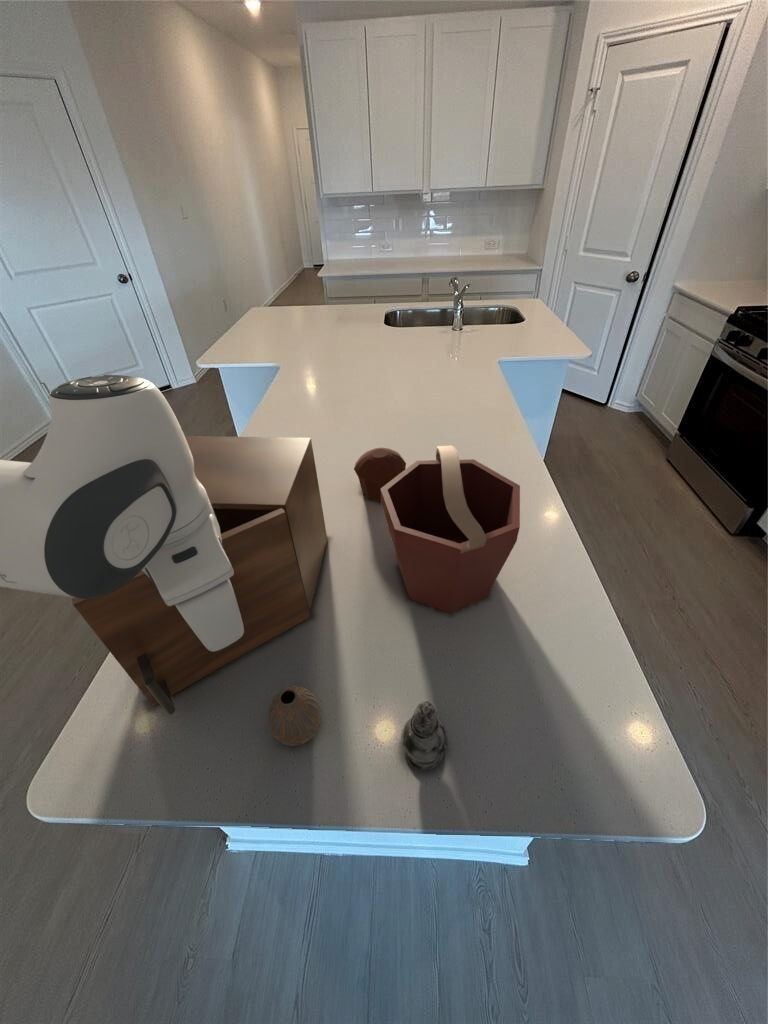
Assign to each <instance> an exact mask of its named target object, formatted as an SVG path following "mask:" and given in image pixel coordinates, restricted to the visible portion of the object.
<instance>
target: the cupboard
mask: <svg viewBox="0 0 768 1024" xmlns="http://www.w3.org/2000/svg"><path fill="white" fill-rule="evenodd" d="M184 436H185V438H186V441H187V443H188V446H189V448H190V451H191V453H192V456H193V460H194V473H195V476H196V478H197V479H198V481H199V482H200V483H201V484H202V485H203V487H204V488H205V490H206V493H207V495H208V498H209V500H210V503H211V506H212V508H213V511H214V514H215V516H216V519H217V521H218V524H219V527H220V533H221V534H222V533H224V532H227V531H229V530H231V529H234V528H236V527H238V526H241V525H243V524H245V523H248V522H250V521H252V520H255V519H257V518H259V517H261V516H264V515H266V514H268V513H271V512H273V511H275V510H278V509H280V508H282V509H283V510H284V511H285V513H286V517H287V522H288V526H289V530H290V534H291V539H292V543H293V547H294V551H295V556H296V560H297V564H298V568H299V573H300V577H301V581H302V585H303V590H304V594H305V598H306V602H307V607H308V611H309V612H310V610H311V607H312V602H313V599H314V594H315V592H316V586H317V583H318V579H319V574H320V572H321V566H322V564H323V558H324V554H325V550H326V546H327V542H328V535H327V529H326V523H325V522H326V521H325V516H324V510H323V504H322V498H321V492H320V486H319V485H320V484H319V479H318V473H317V467H316V460H315V455H314V448H313V441H312V437H300V436H299V437H297V436H296V437H295V436H294V437H291V436H289V437H286V436H284V437H283V436H278V437H277V436H207V435H206V436H202V435H200V436H199V435H197V436H196V435H195V436H193V435H184Z"/></svg>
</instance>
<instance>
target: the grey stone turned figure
mask: <svg viewBox="0 0 768 1024" xmlns="http://www.w3.org/2000/svg"><path fill="white" fill-rule="evenodd" d="M438 713H439V712H438V709H437V707H436V705H434V704H433V703H432V702H430V701H428V700H424V701H420V702H419V703H417V705H415V707H414V710H413V715H412V716H411V718H409V719H408V720H407V721H406V723H405V724H404V725H403V727H402V730H401V736H400V737H401V738H400V739H401V745H402V747H403V754H404V756H405V759H406V761H407V763H409V765H410V766H411V767H413V768H414V769H417V770H419V771H430V770H432V769H435V768H436V767H438V766H439V764H440V763H441V761H442V759H443V756H444V753H445V751H446V748H447V746H448V735H447V731H446V729H445V726H444V725H443V724H442V722H441V721H440V719H439V717H438Z"/></svg>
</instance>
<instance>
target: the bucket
mask: <svg viewBox="0 0 768 1024" xmlns="http://www.w3.org/2000/svg"><path fill="white" fill-rule="evenodd" d="M380 490H381V502H380V505H381V507H382V511H383V515H384V518H385V522H386V525H387V528H388V531H389V532H388V533H389V535H390V539H391V542H392V547H393V549H394V553H395V557H396V561H397V563H398V567H399V571H400V573H401V576H402V580H403V583H404V585H405V588H406V591H407V594H408V597H409V599H410V600H412V601H414V602H415V601H416V602H418V603H421V604H423V605H426V606H429V607H432V608H434V609H436V610H440V611H443V612H446V613H448V614H451V613H453V612H456V611H458V610H461V609H463V608H465V607H468V606H470V605H472V604H475V603H477V602H479V601H482V600H484V599H486V598H487V597H488V595H489V594H490V591H491V590H492V588H493V586H494V584H495V582H496V580H497V578H498V577H499V575H500V573H501V571H502V569H503V567H504V566H505V564H506V562H507V560H508V558H509V557H510V555H511V552H512V551H513V549H514V547H515V546H516V544H517V541H518V538H519V537H518V536H519V532H520V527H521V512H520V511H521V485H520V484H518V483H516V482H515V481H513V480H511V479H509V478H507V477H506V476H504V475H502V474H500V473H498V472H496V471H495V470H493V469H491V468H490V467H488V466H487V465H484V464H483V463H481V462H479V461H478V460H476V459H473V458H472V459H470V458H469V459H460V458H459V453H458V450H457V448H456V447H455V445H437V447H436V450H435V459H434V460H433V459H432V460H416V461H414V462H413V463H412V464H410V465H409V466H408V467H406V468H405V470H404V471H403V472H401V473H400V474H399V475H397V476H396V477H395V478H394V479H392V480H391V481H390V482H388V483H387V484H386V485H385V486H383V487H382V488H381V489H380Z"/></svg>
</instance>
